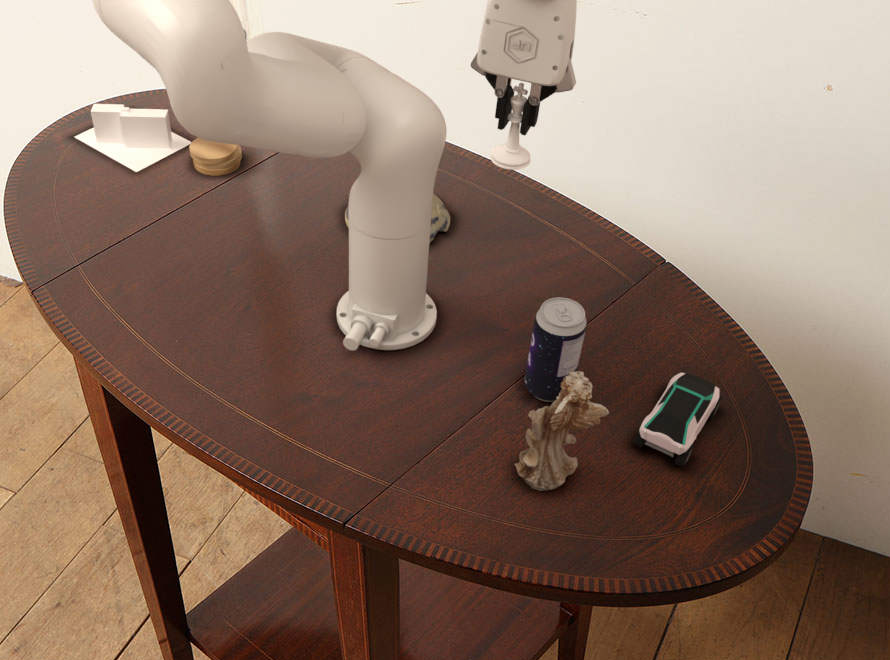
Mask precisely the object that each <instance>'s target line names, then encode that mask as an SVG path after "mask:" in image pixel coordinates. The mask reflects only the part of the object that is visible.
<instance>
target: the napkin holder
mask: <svg viewBox="0 0 890 660" xmlns="http://www.w3.org/2000/svg"><path fill="white" fill-rule="evenodd" d="M90 116H91V120H92V125H93V127H92V128H89V129H87V130H85V131H83V132H81V133H79V134H77V135H75V136H74V138H75V139H76V140H78V141H80V142H82V143H84V144H85V145H87V146H88V147H91V148H92V149H94V150H96V151H97V152H100V153H101V154H103V155H104V156H107V157H108V158H110V159H112V160H114V161H115V162H117V163H119V164H121V165H122V166H125V167H126V168H128V169H130V170H132V171H133V172H134V173H138V172H140V171H141V170H145V169H146V168H148V167H149V166H152V165H153V164H155V163H157V162H159V161H160V160H162V159H164V158H167V157H168V156H170V155H172V154H174V153H176V152H178V151H180V150H182V149H184V148H185V147H188V146H190V144H191V142H192V141H190V140H188V139H187V138H184V137H183V136H181V135H179V134H177V133H175V132H173V131H172V128H171V121H170V113H169V109H161V108H160V109H159V108H158V109H157V108H130V107H129V106H125V104H121V103H119V104H117V103H93V105H92V107H91V109H90Z"/></svg>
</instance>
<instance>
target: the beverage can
mask: <svg viewBox="0 0 890 660" xmlns="http://www.w3.org/2000/svg"><path fill="white" fill-rule="evenodd" d="M587 327H588V321H587V318H586V310H585V309H584V307H583V306H582V304H580V303H579V302H577V301H576V300H574V299H571V298H568V297H561V296H560V297H557V296H556V297H552V298H549V299H546V300H545V301H544V302H543V303H542V304H541V305H540V308H539V309H538V310H537V312H536V313H535V316H534V321H533V328H532V333H531V334H532V335H531V338H530V345H529V351H528V356H527V362H526V369H525V374H524V381H523V383H524V384H523V385H524V387H525V388H526V390H527V392H528V393H529V394H531V395H532V396H533V397H534V398H535V399H538V400H540V401H542V402H547V403H553V402H554V401H555V400H556V397H558V396H559V393H560V392H561V390H562V388H561V383H562V381H563V379H564V377H565V376H568V375H569V374H568V373H569V372H570V371H574V372H576V371H578V367H579V362H580V358H581V354H582V349H583V345H584V341H585V335H586V331H587Z"/></svg>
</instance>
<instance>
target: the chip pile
mask: <svg viewBox="0 0 890 660" xmlns="http://www.w3.org/2000/svg"><path fill="white" fill-rule="evenodd" d="M190 142H191V144H189V145H188V147H189V149H188V150H189V155H190V157H191V158H192V163H193V167H194V169H195V170H196V171H197V172H198V173H200V174H203V175H206V176H211V177H219V176H225V175H229V174H231V173H233V172H235V171H237V169H238V168H239V167H240V165H241V160H242V158H243V151H242V150H243V149H242V146H240V145H234V144H226V143H218V142H212V141H207V140H203V139H201V138H198V137H195V139H193V140H192V141H190Z"/></svg>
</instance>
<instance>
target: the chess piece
mask: <svg viewBox="0 0 890 660" xmlns="http://www.w3.org/2000/svg"><path fill="white" fill-rule="evenodd" d="M524 87H525V82H524V83H523V82H519V83H518V86H517V85H515V86H513V91H514V92H516V95H515V94H514V96H513V97H511V105H512V113H510V114H509V115H508V117H507V119H508V120H509V123H510V127H509V131H508V135H507V138H506V141H505V143H503V144H499V145H497V146H495V147H494V148H493V149H492V150H491V154H490V157H489V158H490V161H491V162H492V163H493V164H494V165H495V166H496V167H499V168H502V169H504V170H511V171H514V170H515V171H516V170H522V169H525V168H527V167H528V166H530V163H531V154H530V151H529V150H528V149H526V148H525V147H523V146H522V145H520V127H521V120H522V114H523V107H524V104H525V103H526V101H527V99H528V97H526V96H527V95H528V93H529V90H528V89H525V88H524Z"/></svg>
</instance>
